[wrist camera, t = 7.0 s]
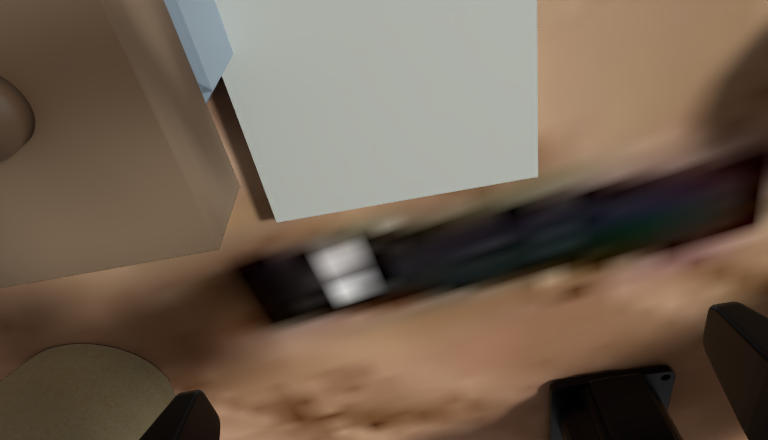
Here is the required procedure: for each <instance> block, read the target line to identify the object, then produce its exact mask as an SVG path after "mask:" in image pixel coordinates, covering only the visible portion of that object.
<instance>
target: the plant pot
mask: <svg viewBox="0 0 768 440" xmlns="http://www.w3.org/2000/svg"><path fill="white" fill-rule="evenodd" d="M174 397H175V394H174V390H173V388H172V386H171V384H170V382H169V380H168V379H167V378H166V376H165V375H164V374H163V373H162V372H161V371H160V370H159V369H157V368H156V367H155V366H153V365H152V364H151V363H149V362H148V361H146V360H144V359H142V358H140V357H138V356H136V355H134V354H132V353H129V352H126V351H123V350H120V349H117V348H112V347H108V346H102V345H94V344H71V345H63V346H58V347H54V348H51V349H48V350H45V351H43V352H41V353H39V354H37V355H35V356H34V357H33V358H31V359H30V360H28V361H27V362H25V363H24V364H23V365H21V366H20V367H19V368H17V369H16V370H15V371H13V372H12V373H11V374H9V375H8V376H7V377H5V378H4V379H3V380H1V381H0V440H139V439H140V437H141V436H142V435H143V434H144V433H145V432H146V430H147V429H148V428H149V427H150V426H151V424H152V423H153V422H154V421H155V420H156V418H157V417H158V416H159V415H160V414H161V413H162V411H163V410H164V409H165V408H166V407H167V405H168V404H169V403H170V402H171V401H172V399H173V398H174Z"/></svg>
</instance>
